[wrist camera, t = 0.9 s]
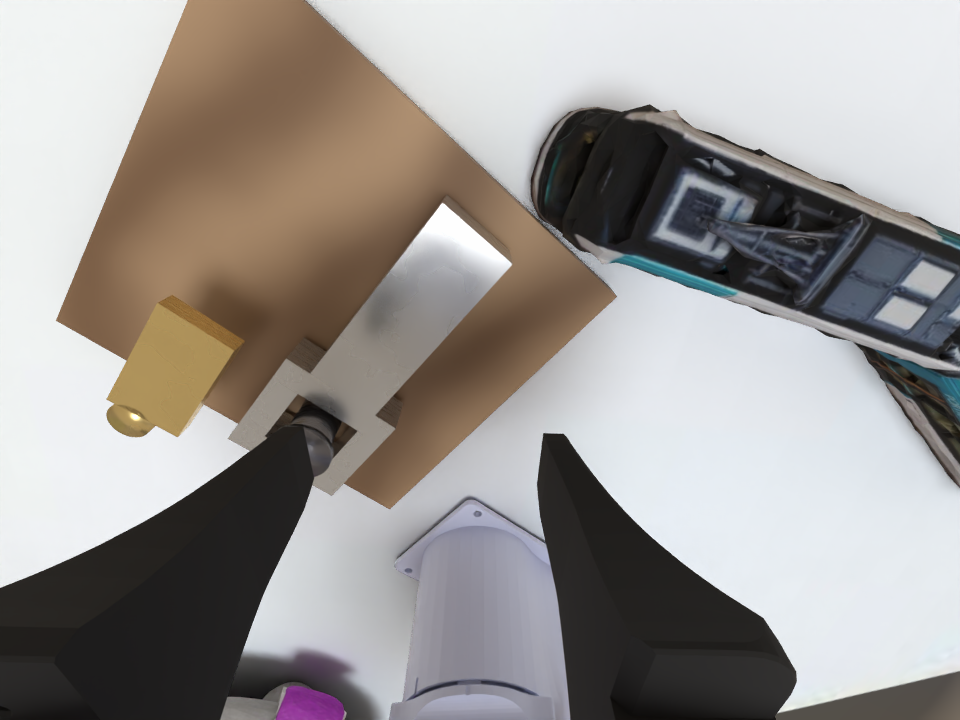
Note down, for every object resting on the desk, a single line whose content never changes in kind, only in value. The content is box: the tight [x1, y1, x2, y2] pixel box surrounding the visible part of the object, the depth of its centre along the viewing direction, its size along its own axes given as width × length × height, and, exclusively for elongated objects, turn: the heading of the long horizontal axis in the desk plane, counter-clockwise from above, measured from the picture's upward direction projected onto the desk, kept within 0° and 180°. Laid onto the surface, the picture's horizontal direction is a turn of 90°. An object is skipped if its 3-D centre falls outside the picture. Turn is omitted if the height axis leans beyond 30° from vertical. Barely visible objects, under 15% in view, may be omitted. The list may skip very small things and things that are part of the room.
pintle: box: [277, 399, 342, 477], centre depth 19 cm, size 3×3×4 cm
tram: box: [531, 105, 960, 487], centre depth 17 cm, size 8×32×7 cm, turn 60°
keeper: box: [107, 295, 245, 437], centre depth 18 cm, size 3×6×4 cm, turn 139°
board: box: [56, 0, 617, 509], centre depth 19 cm, size 18×17×1 cm
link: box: [228, 195, 512, 496], centre depth 18 cm, size 14×5×2 cm, turn 139°
